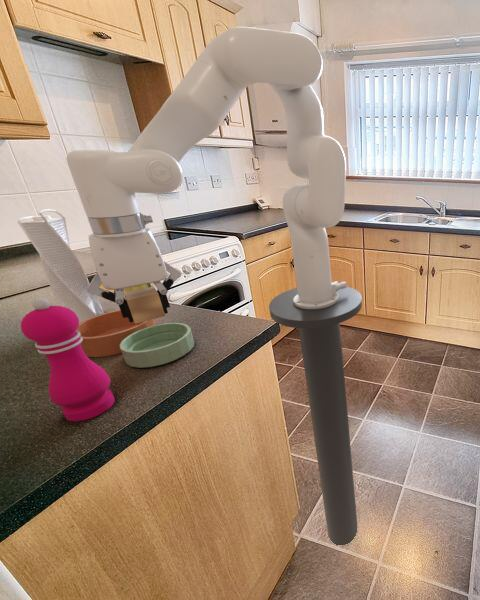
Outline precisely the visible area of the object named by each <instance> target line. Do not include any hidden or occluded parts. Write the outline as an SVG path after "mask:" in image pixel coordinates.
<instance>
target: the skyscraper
mask: <svg viewBox="0 0 480 600" xmlns="http://www.w3.org/2000/svg"><path fill="white" fill-rule="evenodd" d="M48 212H51V213H55V214H56V215H57V214H58V215H59V216H60V217H51V215H50V214H43V213H48ZM38 214H39V215H30V216H29V215H28V216H23V217H21V218H18V219H17V224H18V225H19V226H20V228H21V229H22V231H23V233H24V235H26V238H28V240H29V241H30V243H31V244H32V246H33V247H34V248H35V250H36V252H37V253H38V254H39V259H40V264H41V267H42V269H43V273H44V275H45V278H46V280H47V282H48V284H49V287H50V289H51V291H52V292H53V294H54V297H55V298H56V300H57V302H58V304H59V306H62V307H66V308H69V309H70V310H72V311H73V312H74V313H75V314H76V315H77V317H78V319H79V323H81V322H83V321H85V320H87V319H89V318H92V317H94V316H98V315H101V314H104V313H106V312H105V311H104V310H103V307H102V304H101V301H100V299H98V296H96V295H93V294H90V293H88V292H87V287H88V286H89V284H90V283H91V282H90V281H89V279H88V275H87V274H86V272H85V270H84V267H83V265H82V264H81V262H80V261H79V259H78V256H77V255H76V254H75V253H74V252H73V250H72V249H71V247H70V239H69V232H68V228H67V222H66V218H65V216H63V214H62V213H60V212H59V211H58V210H55V209H52V208H47V209H45V208H44V209H40V211H38Z"/></svg>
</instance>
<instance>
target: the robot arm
mask: <svg viewBox="0 0 480 600" xmlns="http://www.w3.org/2000/svg"><path fill="white" fill-rule="evenodd" d="M322 72H323V57H322V54H321V51H320V50H319V48H318V46H317V45H316V44H315V42H314V41H313V40H312V39H311V38H309V37H308V36H306V35H304V34H303V33H297V32H291V31H283V30H275V29H268V28H260V27H259V28H258V27H251V26H234V27H229V28H227V29H226V30H224V31H223V32H221V33H220V34H218V35H217V36H215V37H214V38H212V39H211V40H210V41H209V43H208V44H207V45H206V46H205V47H204V48H203V50H202V51H201V53H200V54H199V56H198V57H197V58H196V60H195V61H194V63H193V64H192V65H191V67H190V68H189V70H188V71H187V72H186V74H184V77H183V78H182V79H181V80H180V82H179V83H178V84H177V86H176V87H175V88H174V90H173V91H172V93H170V95H169V96H168V98H167V99H166V100H165V101H164V103H163V104H162V106H160V108H159V110H158V111H157V113H156V114H155V115H154V116H153V118H151V120H150V121H149V122H148V124H147V125H146V126H145V128H144V129H143V130H142V132H141V133H140V134H139V136H138V137H137V138H136V140H135V141H133V144H132V145H131V146H130V147H129V149H128V151H122V152H121V151H119V152H117V151H114V150H105V149H104V150H103V149H83V150H82V149H81V150H78V149H77V150H72V151H69V152H68V153H67V155H66V163H67V166H68V169H69V171H70V174H71V178H72V180H73V182H74V185H75V188H76V190H77V193H78V195H79V199H80V202H81V204H82V207H83V210H84V212H85V215H86V218H87V221H88V223H89V226H90V230H91V231H92V234H89V235H88V243H89V249H90V253H91V257H92V260H93V263H94V266H95V270H96V272H95V275H94V276H93V278H92V279H91V281H90V282H89V283H90V284H89V286H88V287H87V292H88V293H90V294H93V295H96V296H97V297H101V298H103V299H105V300H108V301H110V302H113V303H115V304H116V305H118V308H119V310H121V313H122V316H123V318H127V317H128V319H129V321H130V323H131V322H133V321H134V320H133V317H132V314H131V312H130V309H129V306H128V303H127V301H126V298H125V296H124V292H125V291H124V288H128V287H134V286H139V285H144V284H149V283H152V284H153V286H154V287H155V289H156V291H157V292H158V294H159V297H160V301H161V304H162V307H163V310H164V313H165V315H166V314H169V311H168V308H169V309H170V308H171V304H170V301H169V299H168V293H169V290H170V289H171V287H172V286H173V285H174V283H175V282H176V281H177V280H178V279H179V278H180V277H181V276H182V273H181V271H180V270H178V269H177V268H176V267H174V266H172V265H170V264H169V263H168V262H166V261H165V260H164V258H163V254H162V252H161V250H160V247H159V245H158V243H157V241H156V239H155V236H154V234H153V232H152V230H151V229H150V228H148V227H146V226H147V224H151V223H154V221H153V218H152V215H151V214H150V215H146V214H143V213H141V210H140V206H139V203H138V199H137V195H136V193H137V194H155V195H157V194H158V195H165V194H170V193H172V192H174V191H176V190H177V189H178V188H179V187H180V186H181V185H182V184H183V180H184V172H183V169H182V166H181V165H180V162H181V160H183V158H184V156H185V155H186V154H187V153H188V152H189V150H191V149H192V148H193V147H194V146H195V145H196V144H198V143H199V142H201V141H202V140H204V139H206V138H207V137H209V136H210V135H211V136H212V134H213V133H214V132H215V131H216V130H217V129H219V127H220V126H221V125H222V123H223V122H224V120H225V119H226V117H227V116H228V115H229V113H230V112H231V109H233V107H234V106H235V104H236V102H237V101H238V100H239V98H241V96H242V95H243V93H244V92H245V90H246V89H247V88H248V87H249V86H250V85H253V84H257V83H258V84H259V83H260V84H268V86H269V87H270V88H271V89H272V90H273V91H274V92H275V94H276V95H277V96H278V98H279V99H280V101H281V103H282V105H283V107H284V110H285V120H286V161H287V162H286V163H287V166H288V169H289V171H291V173H292V174H293V175H295V176H297V177H299V178H301V179H308V184H306V183H299V184H294V185H292V186H290V187H289V188H287V190H286V191H285V193H284V195H283V197H282V210H283V214H284V217H285V221H286V224H287V227H288V232H289V237H290V244H291V251H292V259H293V265H294V266H293V267H294V273H295V281H296V288H297V289H298V294H297V295H296V296H295V297H294V299H293V302H294V305H295V306H297V307H299V308H302V309H321V308H326V307H329V306H331V305H333V304H335V303H336V302H337V301H338V299H339V295H338V293H337V291H338V290H339V289H343V288H346V287H348V284H347V281H342V282H339V281H338V280H336V281H333V279H332V270H331V269H332V268H331V259H330V250H329V249H330V248H329V237H328V233H327V229H330V228H333V227H335V226H336V225H338V224H339V223H340V222H341V220H342V218H343V216H344V211H345V205H346V202H345V201H346V185H347V184H346V183H347V182H346V181H347V180H346V179H347V161H346V155H345V153H344V150H343V148H342V146H341V144H340V143H339V141H337V140H336V139H335V138H334V137H331V136H329V135H325V127H324V125H325V124H324V110H323V107H322V103H321V100H320V98H319V97H318V95H317V93H316V91H315V90H314V88H313V87H312V86H311V85H313V84H315V83H317V81H318V80H319V79H320V77H321V75H322ZM168 273H169V275H168ZM101 285H102V286H103V288H102V287H100V286H101Z"/></svg>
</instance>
